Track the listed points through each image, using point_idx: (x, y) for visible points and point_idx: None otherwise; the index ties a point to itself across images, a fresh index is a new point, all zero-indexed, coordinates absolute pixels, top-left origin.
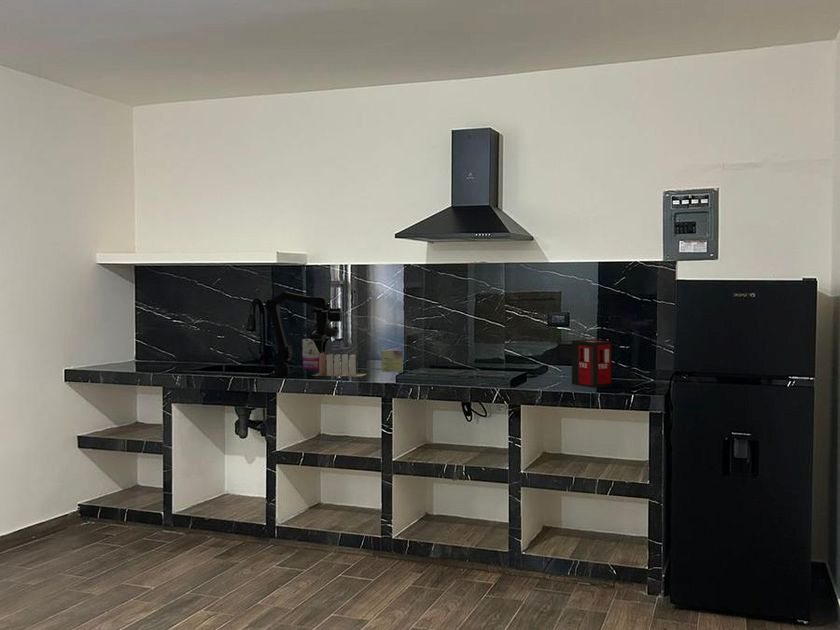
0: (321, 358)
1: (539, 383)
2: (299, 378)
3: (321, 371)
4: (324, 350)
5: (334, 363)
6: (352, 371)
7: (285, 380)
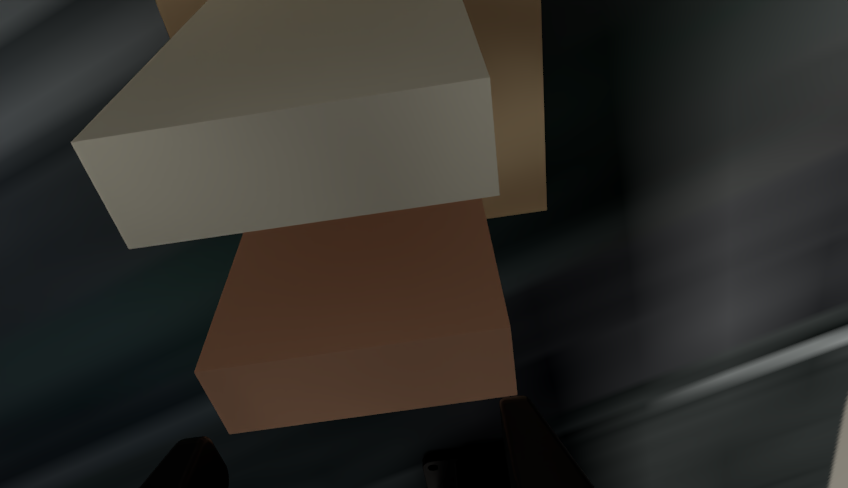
0: (496, 272)
1: None
2: (641, 285)
3: None
4: (189, 486)
5: None
6: None
7: (826, 332)
